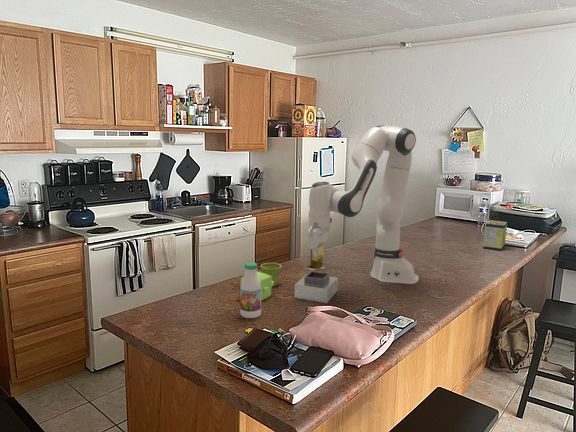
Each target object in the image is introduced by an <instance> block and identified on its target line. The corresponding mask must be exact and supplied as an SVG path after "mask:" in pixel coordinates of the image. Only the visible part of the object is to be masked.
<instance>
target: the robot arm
mask: <svg viewBox="0 0 576 432" xmlns="http://www.w3.org/2000/svg"><path fill="white" fill-rule="evenodd" d="M416 141H417V139H416V134H415V131H413V130H411V129H409V128H407V127H406V128H405V127H400V126H397V125H395V126H394V125H390V126H389V125H376V126H374V127H370V129H368V131H366V133H364V135H363V136H362V137H361V139H360V140H359V142H358V143H357V144H356V146H355V148H354V149H353V151H352V154H351V160H352V163H353V164H354V165H353V166H355V167H356V168H357V169H358V170H359V174H358V176H357V178H356V180H355V182H354V185H353V186H352V188H351V189H350V190H348V191H347V190H343V189H339V188H337V187H335V186H333V185H332V184H330V182H329V181H318V182H314V183H313V184H312V185H311V186H310V189H309V190H310V191H309V195H308V196H309V197H308V205H309V211H308V217H307V218H308V222H307V223H308V227H310V228H308V230H307V237H306V247H307V248H308V249H309V248H310V249H312V250H313V256H317V255H318V250H317V248H318V246H319V245H320V244H321V243H324V244H325V241H326V240H328V239H329V238H330V234H331V233H330V231H331V223H332V222H333V220H332V217H331V212H334V213H335V214H340V215H343V216H345V217H347V218H355V217H356V216H357V215H358V214H359V213H360V212H361V211H362V208H363V205H364V200H365V198H366V195H367V193H368V191H369V189H370V187H371V185H372V182H373V181H374V178H375V176H376V173H377V168H378V165H377V164H378V161H379V160H380V158H381V156H382V154H383V153H384V151H386V152H388V157H387V160H386V164H385V167H384V168H385V169H384V172H383V173H384V174H383V178H382V184H381V190H380V191H381V193H380V196H379V197H380V198H379V199H378V201H377V204H376V227H375V228H376V231H375V233H376V234H375V246H374V249H373V258H374V259H373V265H372V270H371V271H370V276H371V277H372V279H375V280H378V281H379V282H381V283H389V284H390V283H391V284H404V285H405V284H406V285H416V284H417V283H418V282H419V279H420V278H419V275H418V274H417V273H415V269H414V266H413V264H412V263H410V261H408V260H407V259H406V258H405V257H404V249H401V248H400V241H401V239H400V238H401V217H402V216H403V213H404V207H405V200H406V193H407V187H408V180H409V176H410V172H411V166H412V159H413V158H412V157H413V152H412V151H413V149H414V148H415V145H416Z"/></svg>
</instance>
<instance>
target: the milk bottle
mask: <svg viewBox="0 0 576 432" xmlns="http://www.w3.org/2000/svg"><path fill="white" fill-rule="evenodd" d="M244 270H245V271H244V272H245V273H244V275H243V276H242V277H243V279H242V282H241V281H240V284H241V296H240V295H239V296H240V297H239V299H240V300H239V301H240V315H241V317H242V318H244V319H245V318H246V319H255V318H259V317H260V316H261V314H262V301H261V283H260V280H259V278H258V275H257V272H258V271H257V270H258V263H256V262H251V261H249V262H246V263H244Z"/></svg>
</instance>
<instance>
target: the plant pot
mask: <svg viewBox="0 0 576 432" xmlns="http://www.w3.org/2000/svg"><path fill="white" fill-rule="evenodd" d="M260 268H261V270H262V273H265V274H268V275H270V276H272V281H274V286H273V287H275V286H277V285H278V281H279V276H280V271H281V268H282V264H280V263H277V262H265V263H261V264H260Z"/></svg>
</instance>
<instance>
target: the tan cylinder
mask: <svg viewBox="0 0 576 432" xmlns="http://www.w3.org/2000/svg"><path fill="white" fill-rule="evenodd" d="M317 250H318V255H317V256H313V250H312V260H313V261H322V262H323V261H325V260H324V257H325V255H324V254H325V242H324V243H321V244H320V245H319V246H318V248H317Z"/></svg>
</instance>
